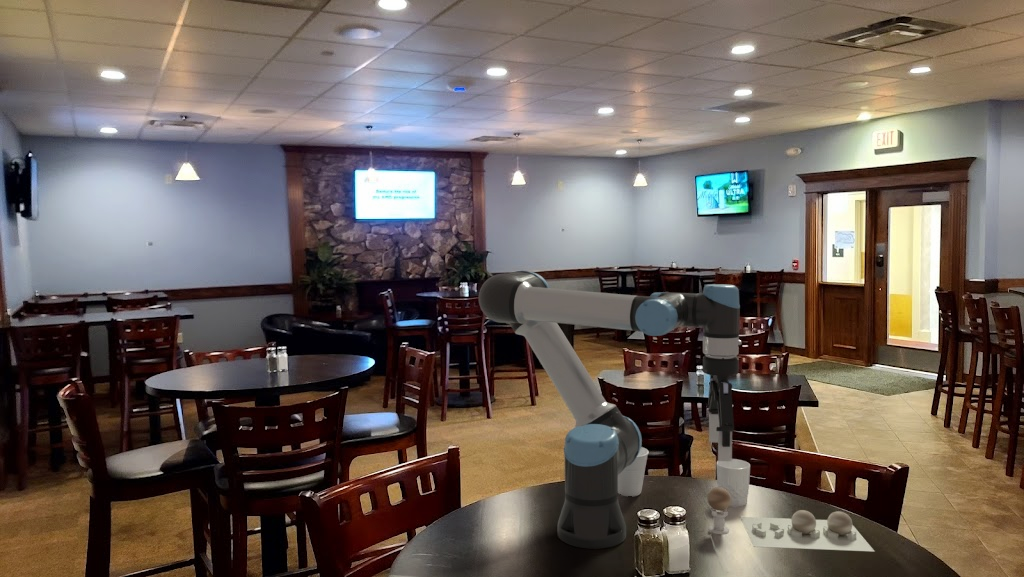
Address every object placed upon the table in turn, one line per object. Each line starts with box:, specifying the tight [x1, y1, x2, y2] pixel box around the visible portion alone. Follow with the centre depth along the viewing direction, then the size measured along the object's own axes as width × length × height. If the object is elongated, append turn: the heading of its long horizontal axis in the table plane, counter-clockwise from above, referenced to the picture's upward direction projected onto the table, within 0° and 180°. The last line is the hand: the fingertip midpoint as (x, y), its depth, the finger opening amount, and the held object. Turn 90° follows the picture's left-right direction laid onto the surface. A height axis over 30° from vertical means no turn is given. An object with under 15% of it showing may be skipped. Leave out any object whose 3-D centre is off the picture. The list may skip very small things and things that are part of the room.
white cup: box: [716, 458, 751, 507], centre depth 178 cm, size 8×8×10 cm
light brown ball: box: [706, 486, 731, 511], centre depth 161 cm, size 5×5×5 cm
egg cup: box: [708, 505, 730, 535], centre depth 161 cm, size 4×4×5 cm
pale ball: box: [826, 510, 854, 535], centre depth 158 cm, size 5×5×5 cm
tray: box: [740, 516, 876, 553], centre depth 159 cm, size 24×16×2 cm, turn 83°
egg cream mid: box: [791, 509, 817, 534], centre depth 159 cm, size 5×5×5 cm
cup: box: [618, 446, 650, 497], centre depth 186 cm, size 10×10×11 cm
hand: (719, 451), depth 160 cm, fingers open, 13 cm apart
